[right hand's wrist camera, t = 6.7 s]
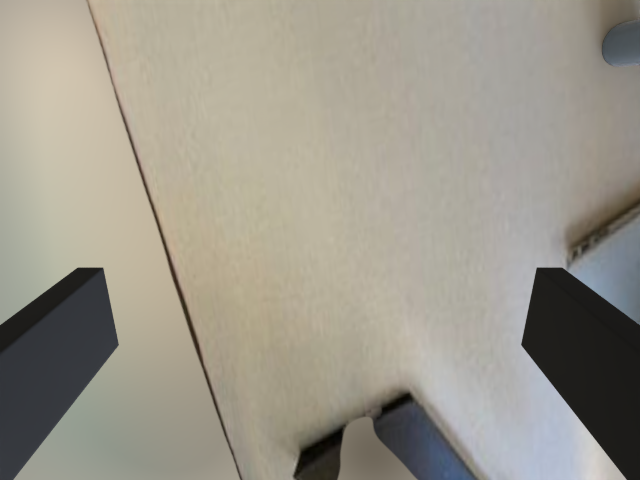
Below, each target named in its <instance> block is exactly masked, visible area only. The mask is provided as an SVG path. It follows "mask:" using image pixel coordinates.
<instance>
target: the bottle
mask: <svg viewBox="0 0 640 480" xmlns="http://www.w3.org/2000/svg"><path fill="white" fill-rule="evenodd" d="M602 54H603V57H604V59H605V61H606V62H607V63H608V64H610V65H612V66H616V67H621V66H635V65H640V19H638V20H633V21H629V22H624V23H621V24H618V25H617V26H615V27H614V28H613V29H611V31H610V32H609V33H608V34H607V36H606V37H605V39H604V42H603V46H602Z"/></svg>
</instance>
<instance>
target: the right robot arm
mask: <svg viewBox="0 0 640 480" xmlns="http://www.w3.org/2000/svg"><path fill="white" fill-rule="evenodd" d="M118 345H119V344H118V339H117V334H116V329H115V324H114V319H113V314H112V309H111V304H110V299H109V294H108V289H107V284H106V279H105V274H104V269H103V268H77V269H75V270H74V271H73V272H71V273H70V274H69V275H67V276H66V277H65V278H63V279H62V280H61V281H59V282H58V283H57V284H55V285H54V286H52V287H51V288H50V289H48V290H47V291H46V292H44V293H43V294H42V295H40V296H39V297H38V298H36V299H35V300H34V301H32V302H31V303H30V304H28V305H27V306H26V307H24V308H23V309H21V310H20V311H19V312H17V313H16V314H15V315H13V316H12V317H11V318H9V319H8V320H7V321H5V322H4V323H3V324H1V325H0V480H13V479H14V478H15V477H16V475H17V474H18V473H19V472H20V470H21V469H22V468H23V466H24V465H25V464H26V463H27V461H28V460H29V459H30V458H31V456H32V455H33V454H34V452H35V451H36V450H37V449H38V447H39V446H40V445H41V443H42V442H43V441H44V440H45V438H46V437H47V436H48V435H49V433H50V432H51V431H52V429H53V428H54V427H55V426H56V424H57V423H58V422H59V421H60V419H61V418H62V417H63V415H64V414H65V413H66V412H67V410H68V409H69V408H70V407H71V405H72V404H73V403H74V401H75V400H76V399H77V397H78V396H79V395H80V394H81V392H82V391H83V390H84V389H85V387H86V386H87V385H88V384H89V382H90V381H91V380H92V378H93V377H94V376H95V375H96V373H97V372H98V371H99V369H100V368H101V367H102V366H103V364H104V363H105V362H106V361H107V359H108V358H109V357H110V355H111V354H112V353H113V352H114V350H115V349H116V348H117V346H118ZM521 345H522V347H523V348H524V349H525V350H526V352H527V353H528V354H529V355H530V357H531V358H532V359H533V361H534V362H535V363H536V364H537V366H538V367H539V368H540V369H541V371H542V372H543V373H544V375H545V376H546V377H547V378H548V380H549V381H550V382H551V384H552V385H553V386H554V387H555V389H556V390H557V391H558V392H559V394H560V395H561V396H562V398H563V399H564V400H565V401H566V403H567V404H568V405H569V407H570V408H571V409H572V410H573V412H574V413H575V414H576V415H577V417H578V418H579V419H580V421H581V422H582V423H583V424H584V426H585V427H586V428H587V429H588V431H589V432H590V433H591V435H592V436H593V437H594V438H595V440H596V441H597V442H598V444H599V445H600V446H601V447H602V449H603V450H604V451H605V452H606V454H607V455H608V456H609V458H610V459H611V460H612V461H613V463H614V464H615V465H616V466H617V468H618V469H619V470H620V472H621V473H622V474H623V475H624V477H625V478H626V479H627V480H640V325H639V324H637V323H636V322H635V321H633V320H632V319H631V318H629V317H628V316H627V315H625V314H624V313H623V312H621V311H620V310H619V309H617V308H616V307H615V306H613V305H612V304H610V303H609V302H608V301H606V300H605V299H604V298H602V297H601V296H600V295H598V294H597V293H596V292H594V291H593V290H592V289H590V288H589V287H588V286H586V285H585V284H583V283H582V282H581V281H579V280H578V279H577V278H575V277H574V276H573V275H571V274H570V273H569V272H567V271H566V270H565V269H563V268H537V269H536V274H535V279H534V284H533V289H532V294H531V299H530V304H529V309H528V314H527V319H526V324H525V329H524V334H523V339H522V344H521Z"/></svg>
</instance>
